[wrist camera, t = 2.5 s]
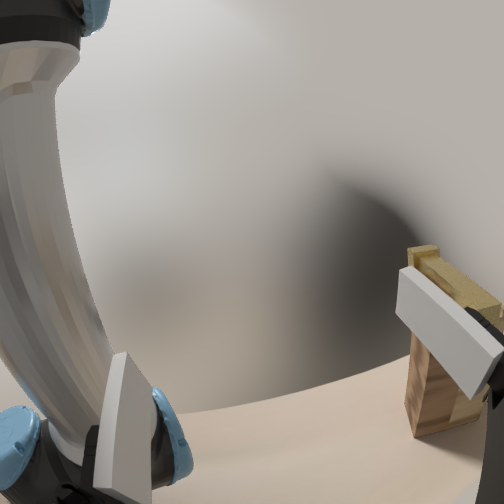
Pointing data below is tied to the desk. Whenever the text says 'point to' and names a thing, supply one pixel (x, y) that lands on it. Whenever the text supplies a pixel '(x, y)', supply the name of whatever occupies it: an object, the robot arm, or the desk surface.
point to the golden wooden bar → (454, 282)
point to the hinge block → (437, 393)
